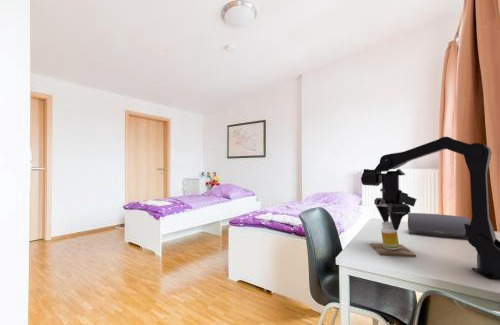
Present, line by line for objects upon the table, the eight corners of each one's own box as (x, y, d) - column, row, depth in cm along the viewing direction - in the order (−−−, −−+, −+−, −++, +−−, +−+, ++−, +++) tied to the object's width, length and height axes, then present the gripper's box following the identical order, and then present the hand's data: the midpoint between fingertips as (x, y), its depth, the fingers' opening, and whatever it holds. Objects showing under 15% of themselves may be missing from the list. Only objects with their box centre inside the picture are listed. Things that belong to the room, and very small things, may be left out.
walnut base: (416, 259, 87) (416, 255, 87) (380, 257, 90) (380, 253, 90) (401, 248, 99) (401, 244, 99) (370, 246, 101) (370, 243, 101)
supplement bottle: (401, 249, 91) (397, 223, 92) (385, 250, 93) (381, 224, 93) (397, 245, 96) (393, 220, 97) (382, 245, 98) (378, 221, 98)
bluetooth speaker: (466, 236, 112) (466, 214, 112) (472, 242, 104) (471, 218, 104) (407, 230, 123) (407, 210, 123) (408, 234, 115) (408, 213, 115)
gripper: (426, 189, 84) (427, 234, 84) (401, 184, 103) (402, 221, 102) (391, 189, 86) (392, 233, 86) (373, 184, 104) (374, 221, 104)
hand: (390, 226), depth 95 cm, fingers open, 9 cm apart
